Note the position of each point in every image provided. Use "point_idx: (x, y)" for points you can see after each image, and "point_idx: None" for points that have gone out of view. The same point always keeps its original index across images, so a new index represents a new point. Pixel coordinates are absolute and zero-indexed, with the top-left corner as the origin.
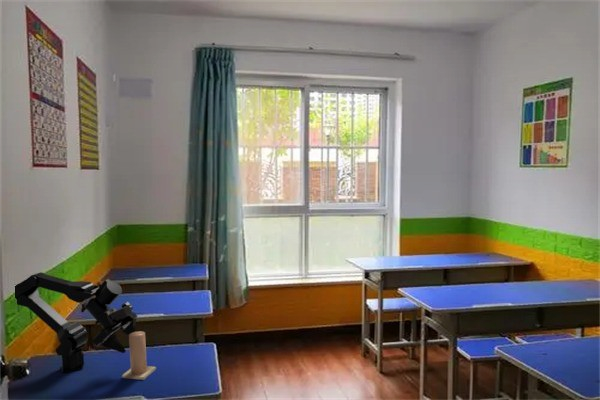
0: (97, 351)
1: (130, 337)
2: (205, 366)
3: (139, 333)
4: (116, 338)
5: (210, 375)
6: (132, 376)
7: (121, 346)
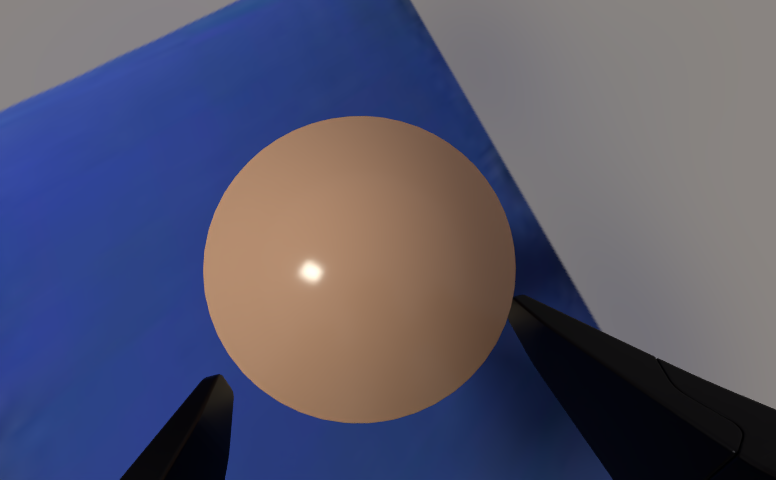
0: None
1: (511, 273)
2: (182, 60)
3: (312, 236)
4: (754, 457)
5: (256, 8)
6: None
7: (583, 331)
